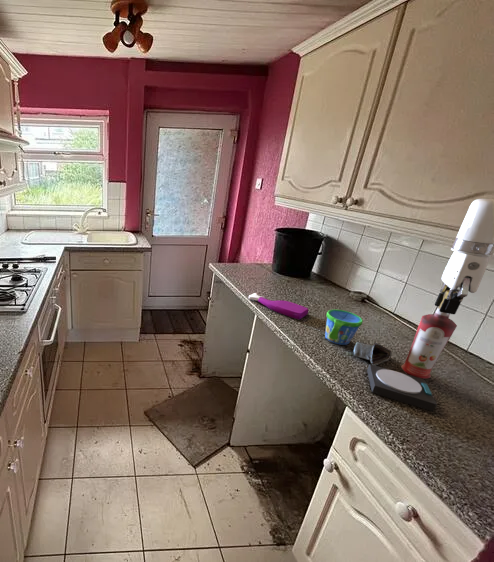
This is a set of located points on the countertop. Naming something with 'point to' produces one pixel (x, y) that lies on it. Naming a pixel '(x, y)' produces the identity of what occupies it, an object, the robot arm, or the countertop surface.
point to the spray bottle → (282, 306)
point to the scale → (401, 387)
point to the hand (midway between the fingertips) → (444, 309)
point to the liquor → (429, 342)
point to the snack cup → (341, 326)
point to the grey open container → (372, 352)
